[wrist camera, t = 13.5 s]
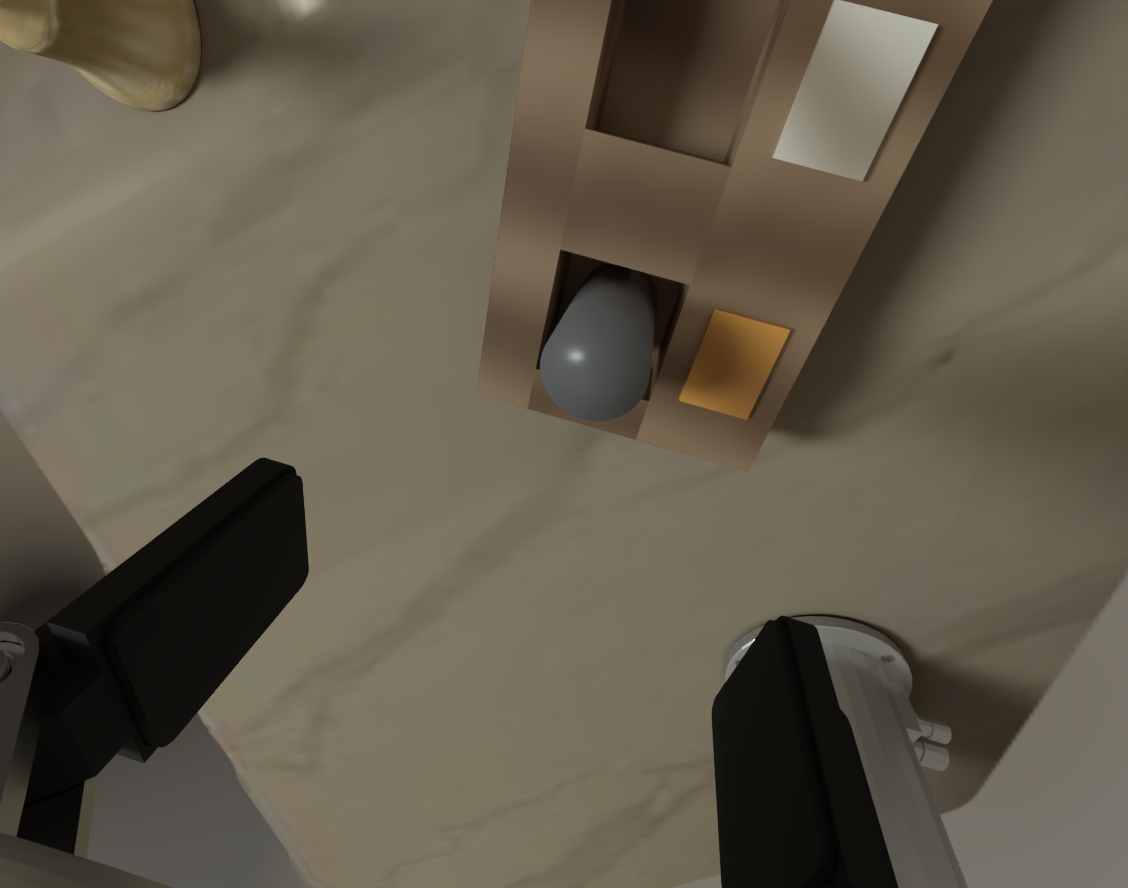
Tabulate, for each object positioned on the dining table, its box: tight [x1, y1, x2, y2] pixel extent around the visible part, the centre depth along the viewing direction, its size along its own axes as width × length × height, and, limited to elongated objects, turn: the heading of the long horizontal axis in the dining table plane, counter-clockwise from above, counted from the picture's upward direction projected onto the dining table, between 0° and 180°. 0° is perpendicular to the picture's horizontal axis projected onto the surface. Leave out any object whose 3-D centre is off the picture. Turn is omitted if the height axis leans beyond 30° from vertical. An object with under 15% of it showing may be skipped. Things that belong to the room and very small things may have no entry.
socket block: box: [476, 0, 993, 472], centre depth 22 cm, size 20×14×5 cm
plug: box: [540, 263, 657, 421], centre depth 22 cm, size 4×4×9 cm
